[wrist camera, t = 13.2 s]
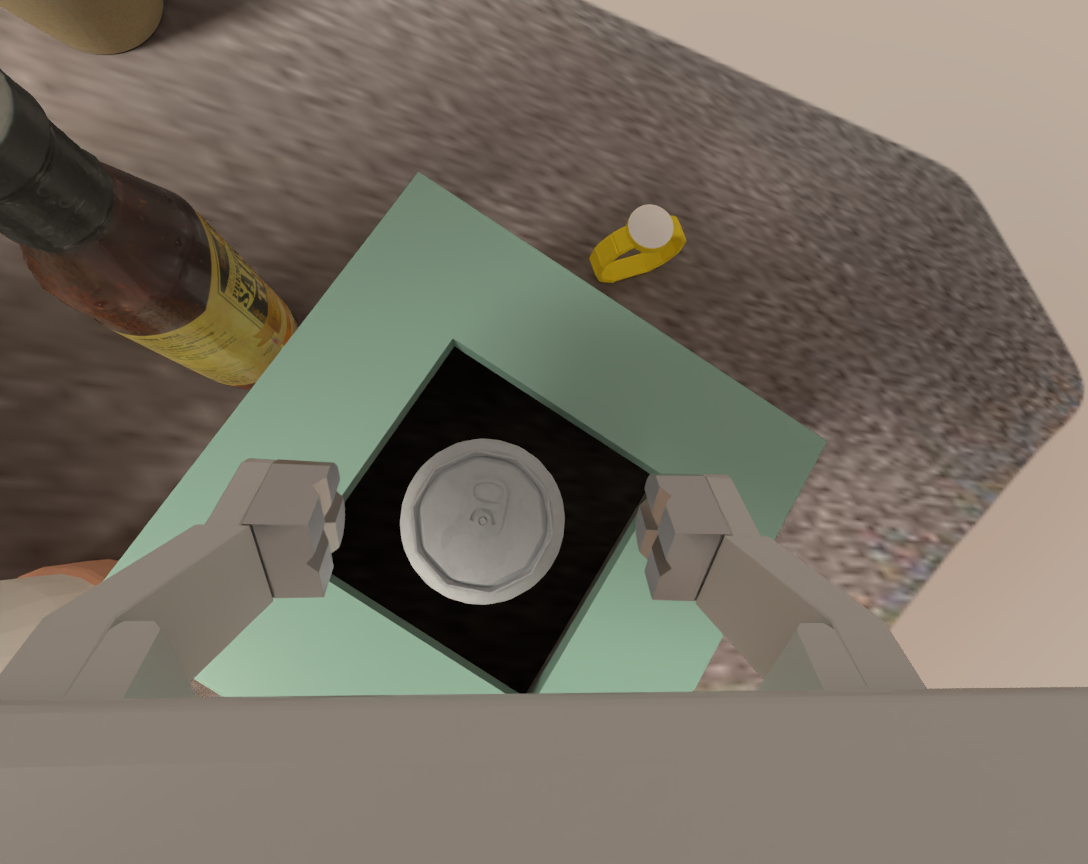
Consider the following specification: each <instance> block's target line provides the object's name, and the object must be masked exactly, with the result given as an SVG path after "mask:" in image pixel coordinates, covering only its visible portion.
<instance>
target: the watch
mask: <svg viewBox="0 0 1088 864" xmlns="http://www.w3.org/2000/svg"><path fill="white" fill-rule="evenodd" d="M685 243H686V238H685V235H684V232H683V230H682V227H681V225H680V222H679V220H678V219H677V217H676V216H673V215H669V214H668V213H667V212H666V211H665V210H664V209H663V208H661V207H659V206H657V205H651V204H648V205H642V206H640V207H638V208H636V209H635V210H634V211H633V212H632V213H631V215H630V217H629V219H628V221H627V224H626V226H624V227H622V228H620V229H619V230H617V231H615V232H613V233H612V234H610V235H609V236H607V237H606V238H605V239H604V240H602V241H601V242H600V243H599V244H598V245H597V246H596V247H595V248H594V250H593V252H592V254H591V255H590V258H589V259H590V262H591V265H592V267H593V270H594V273H595V276H596V277H597V279H598V281H600V282H605V283H614V282H615V281H619V280H622V279H625V278H629V277H632V276H636V275H639V274H643V273H646V272H650V271H651V270H653V269H655V268H657V267H659V266H661V265H663V264H664V263H665V262H667V261H669V260H670V259H671V258H673V257H674V256H675V255H676V254H678V253H679V252H680V251H681V249H682V248H683V246H684V245H685ZM634 248H635V249H636V250H638V251H640V252H642V253H640V254H637V255H633V256H630V257H626V258H623V259H619V260H616V261H613V260H615V259H616V258H617V257H619V256H620V255H622V254H624V253H626V252H628V251H630V250H632V249H634Z"/></svg>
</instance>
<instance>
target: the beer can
mask: <svg viewBox="0 0 1088 864" xmlns="http://www.w3.org/2000/svg"><path fill="white" fill-rule="evenodd" d="M564 524H565V514H564V507H563V500H562V497H561V494H560V491H559V489H558V486H557V484H556V482H555V480H554V479H553V477H552V475H551V474H550V473H549V471H548V470H547V469H546V468H545V467H544V466H543V464H542V463H541V462H540V461H539V460H538V459H537V458H536V457H535V456H533V455H532V454H530V453H528V452H527V451H526V450H524V449H523V448H521V447H519V446H516V445H513V444H510V443H507V442H504V441H501V440H493V439H473V440H469V441H462V442H459V443H456V444H454V445H452V446H450V447H448V448H446V449H444V450H442V451H440V452H438V453H437V454H435V455H434V456H433V457H431V458H430V459H429V460H428V461H427V462H426V463H425V464H424V465H423V466H422V467H421V468H420V469H419V470H418V472H417V473H416V474H415V476H414V478H413V479H412V481H411V483H410V484H409V486H408V488H407V491H406V494H405V497H404V500H403V503H402V508H401V517H400V531H401V540H402V543H403V547H404V550H405V553H406V555H407V557H408V559H409V561H410V563H411V565H412V567H413V568H414V570H415V571H416V572H417V573H418V574H419V576H420V577H421V578H422V579H423V580H424V582H425V583H426V584H427V585H429V586H430V587H431V588H432V589H434V590H436V591H437V592H439V593H440V594H442V595H444V596H445V597H447V598H450V599H453V600H456V601H460V602H463V603H466V604H479V605H486V604H494V603H498V602H504V601H507V600H510V599H513V598H514V597H516V596H518V595H520V594H522V593H523V592H525V591H527V590H529V589H530V588H532V587H533V586H534V585H535V584H536V583H537V582H538V581H539V580H540V579H541V578H542V577H543V576H544V575H545V574H546V573H547V571H548V570H549V569H550V568H551V566H552V564H553V562H554V560H555V558H556V557H557V555H558V553H559V549H560V546H561V542H562V539H563V536H564Z"/></svg>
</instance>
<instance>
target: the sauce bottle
mask: <svg viewBox="0 0 1088 864" xmlns="http://www.w3.org/2000/svg"><path fill="white" fill-rule="evenodd" d="M0 232H1V233H2V234H4V235H5V236H6V237H8V238H9V239H11V240H12V241H14V242H16V243H19V244H20V246H21V249H22V252H23V257H24V260H25V261H26V262H27V265H28V268H29V269H30V270H31V271H32V273H33V276H34V277H35V278H36V279H37V281H38V282H39V283H40V285H41V286H42V287H43V288H44V289H45V290H47V291H49V292H50V293H52V294H53V295H54V296H56V297H57V298H58V299H60V300H61V301H62V302H64V303H66V304H67V305H68V306H71V307H73V308H75V309H76V310H78V311H81V312H83V313H85V314H87V315H89V316H91V317H93V318H94V319H95V320H96V321H98V322H99V323H100V324H102V325H103V326H105V327H107V328H109V329H111V330H113V331H115V332H117V333H119V334H121V335H123V336H125V337H127V338H129V339H131V340H133V341H135V342H137V343H139V344H141V345H143V346H145V347H147V348H149V349H151V350H153V351H155V352H157V353H159V354H161V355H163V356H165V357H167V358H169V359H171V360H173V361H175V362H177V363H179V364H181V365H183V366H185V367H187V368H189V369H191V370H193V371H195V372H197V373H199V374H201V375H203V376H205V377H207V378H209V379H212V380H214V381H216V382H219V383H222V384H226V385H230V386H235V387H240V388H244V389H251V388H252V387H253V386H254V385H255V383H256V382H257V381H258V379H259V378H260V377H261V375H262V374H263V373H264V372H265V370H266V369H267V368H268V366H269V365H270V364H271V363H272V361H273V360H274V359H275V357H276V356H277V355H278V353H279V352H280V351H281V350H282V348H283V347H284V346H285V344H286V343H287V342H288V340H289V339H290V338H291V337H292V335H293V334H294V333H295V331H296V330H297V329H298V326H297V322H296V320H295V319H294V318H293V316H292V313H291V311H290V310H289V308H288V307H287V305H286V304H285V303H284V302H283V300H282V299H281V298H280V297H279V296H278V295H277V294H276V293H275V292H274V291H273V290H272V289H271V288H270V287H269V286H268V285H267V284H266V283H265V282H264V281H263V280H262V279H261V278H260V277H259V276H258V275H257V273H256V272H255V271H254V270H253V269H252V268H251V267H250V266H249V265H248V264H247V263H246V262H245V261H244V260H243V259H242V258H241V257H240V256H239V254H237V253H236V252H235V251H234V250H233V249H232V248H231V247H230V245H229V244H228V243H226V242H225V241H224V239H223V238H222V237H221V236H220V235H219V234H218V233H217V232H216V231H215V230H214V229H213V228H212V227H211V226H210V225H209V224H208V223H207V222H206V221H205V220H204V219H203V218H202V217H201V216H200V215H199V214H198V213H197V212H196V211H195V210H194V209H193V208H192V207H191V206H190V205H189V204H188V203H187V202H186V201H185V200H184V199H183V198H182V197H180V196H179V195H177V194H175V193H173V192H171V191H169V190H167V189H164V188H162V187H159V186H157V185H154V184H152V183H150V182H147V181H145V180H142V179H140V178H138V177H135V176H133V175H131V174H128V173H126V172H124V171H121V170H119V169H116V168H114V167H112V166H109V165H107V164H104V163H102V162H99V160H98V159H97V158H96V157H95V156H94V155H92V154H90V153H89V152H87V151H86V150H84V149H81V148H80V147H79V146H78V145H77V144H76V143H74V142H73V141H72V140H71V139H70V138H69V137H68V136H67V135H66V134H65V133H64V132H63V131H61V130H60V129H59V128H57V127H56V126H55V125H54V124H53V123H52V122H51V121H50V120H49V119H48V118H47V116H46V114H45V112H44V110H43V109H42V107H41V106H40V105H39V103H38V102H37V101H36V100H35V98H34V97H33V96H32V95H31V94H30V93H28V92H27V91H26V90H25V89H23V88H22V87H21V86H20V85H18V84H17V83H16V82H14V81H13V80H12V79H11V78H10V77H9V76H8V75H6V74H5V73H4V72H3V71H2V70H1V69H0Z"/></svg>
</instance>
